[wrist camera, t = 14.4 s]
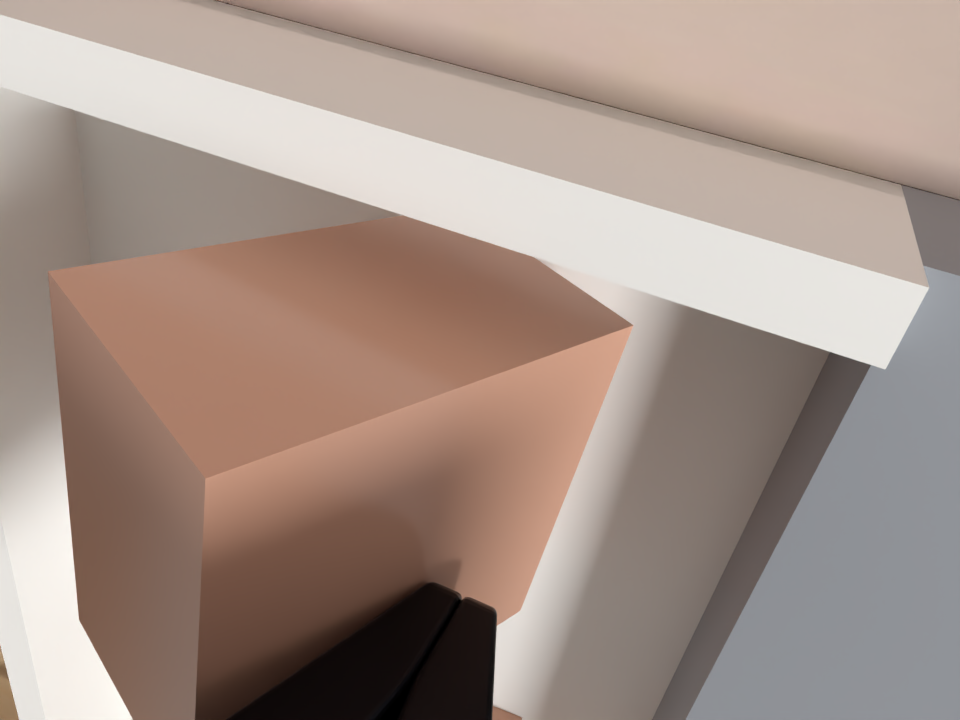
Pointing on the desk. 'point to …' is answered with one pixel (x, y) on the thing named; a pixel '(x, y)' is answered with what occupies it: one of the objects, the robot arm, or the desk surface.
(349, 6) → the desk surface
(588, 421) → the tile
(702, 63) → the desk surface
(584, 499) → the tray
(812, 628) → the bench board
